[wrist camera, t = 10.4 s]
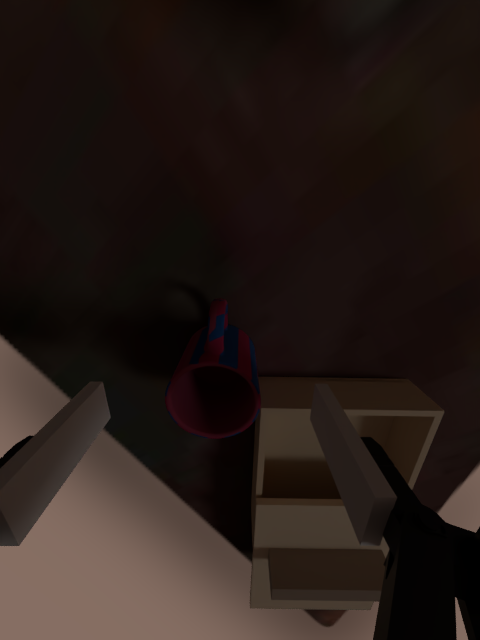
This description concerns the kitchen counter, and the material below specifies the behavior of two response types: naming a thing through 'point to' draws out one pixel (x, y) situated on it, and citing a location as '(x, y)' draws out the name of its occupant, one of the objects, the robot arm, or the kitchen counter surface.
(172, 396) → the mug
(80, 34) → the kitchen counter surface
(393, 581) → the robot arm
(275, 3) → the kitchen counter surface
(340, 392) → the beige open box
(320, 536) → the lid
